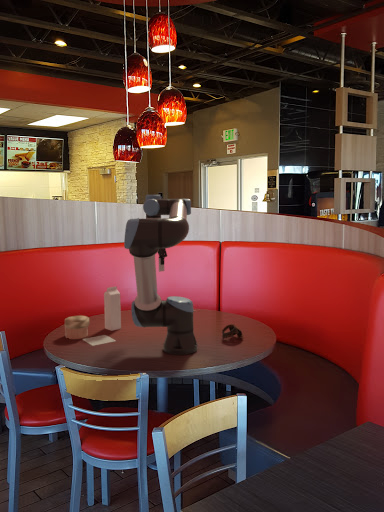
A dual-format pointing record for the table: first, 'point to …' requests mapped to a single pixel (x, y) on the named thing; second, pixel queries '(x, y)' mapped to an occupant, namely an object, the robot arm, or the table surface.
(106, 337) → the silicone mat
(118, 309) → the milk
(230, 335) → the pottery mug
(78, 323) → the brass lid
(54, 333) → the table surface
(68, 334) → the terracotta bowl
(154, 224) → the robot arm
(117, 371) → the table surface
